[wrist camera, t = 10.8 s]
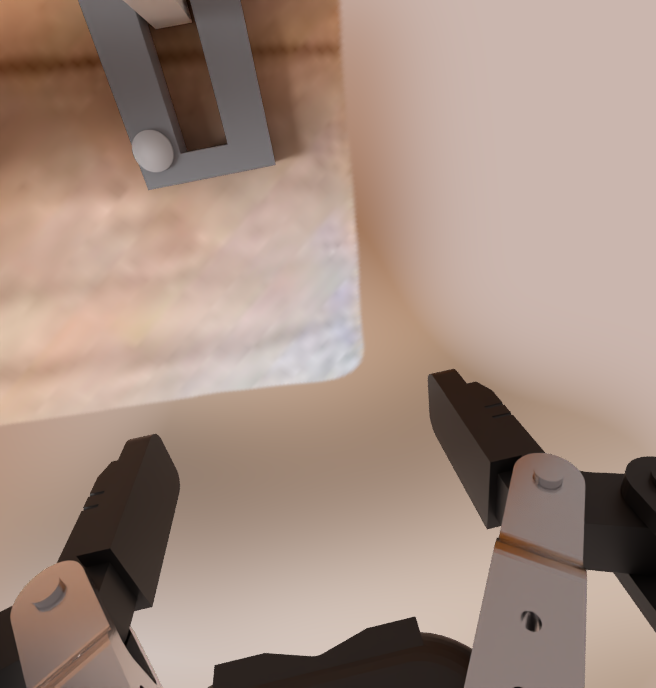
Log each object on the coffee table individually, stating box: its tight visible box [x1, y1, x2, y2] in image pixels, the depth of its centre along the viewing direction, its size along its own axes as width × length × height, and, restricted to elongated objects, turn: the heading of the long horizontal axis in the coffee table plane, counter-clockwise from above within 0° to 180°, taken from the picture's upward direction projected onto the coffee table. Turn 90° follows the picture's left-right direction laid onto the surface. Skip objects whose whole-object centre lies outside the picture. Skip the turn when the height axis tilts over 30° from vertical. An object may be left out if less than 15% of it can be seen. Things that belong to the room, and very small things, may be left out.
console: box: [78, 0, 276, 190], centre depth 28 cm, size 10×18×4 cm, turn 9°
